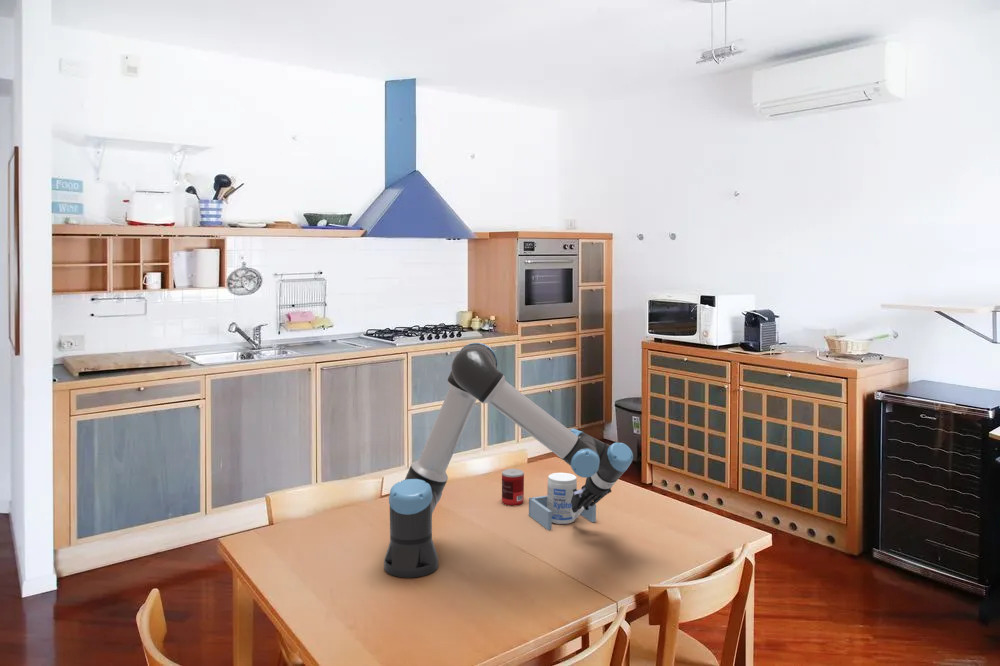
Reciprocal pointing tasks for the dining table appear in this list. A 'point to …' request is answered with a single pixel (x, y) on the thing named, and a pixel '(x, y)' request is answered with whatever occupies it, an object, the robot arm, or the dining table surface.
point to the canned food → (512, 487)
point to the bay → (544, 515)
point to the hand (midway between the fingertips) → (573, 514)
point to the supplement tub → (561, 496)
